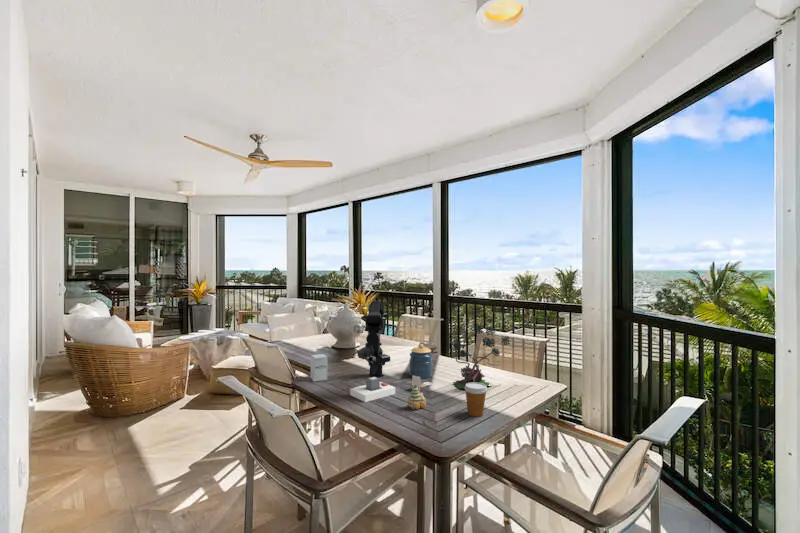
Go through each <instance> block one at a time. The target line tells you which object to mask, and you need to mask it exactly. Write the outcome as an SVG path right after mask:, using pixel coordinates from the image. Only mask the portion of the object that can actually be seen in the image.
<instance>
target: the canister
mask: <svg viewBox="0 0 800 533" xmlns="http://www.w3.org/2000/svg"><path fill="white" fill-rule="evenodd" d="M410 350H411V352H410V353H409V357H410V359H409V371H408V372H409V376H410V377H411V378H412V375H413V376H416V377H419V376H420V377H419V378H420V379H430V378H431V377H432V376H433V359H432V358H433V355H434V354H433V353H432V350H431V349H430V347H428V346H427V347H426V346H424V344H423V343H420V344H419V345H418V346H414V347H413V348H411V349H410Z"/></svg>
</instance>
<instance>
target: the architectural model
mask: <svg viewBox="0 0 800 533" xmlns="http://www.w3.org/2000/svg"><path fill="white" fill-rule="evenodd" d="M419 377H420V376H419ZM419 377H416V376H413V375H412V377H411V378H412V379H411V380H412V382H411V384H412V385H411V386H412V388H411V390H412V389H413V388H414V385H417V388H418V391H419V392H421V388H422V387H426V386H427V384H426V383H423V381H421V378H419Z"/></svg>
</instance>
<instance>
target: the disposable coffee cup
mask: <svg viewBox="0 0 800 533" xmlns="http://www.w3.org/2000/svg"><path fill="white" fill-rule="evenodd" d="M463 390H464V391H465V400H466V408H467V410H466V411H467V414H468V415H469V416H472V417H481V416H484V408H485V402H486V396H487V391H488V387H487V388H486V385H484V384H482V383H477V382H470V383H467V384H466V385H465V387H464V389H463Z"/></svg>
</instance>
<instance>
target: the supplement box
mask: <svg viewBox="0 0 800 533" xmlns="http://www.w3.org/2000/svg"><path fill="white" fill-rule="evenodd" d="M328 359H329V358H328V356H327V355H326V354H323V353H322V354H310V379H311V380H312V381H313V382H321V381H327V380H328Z"/></svg>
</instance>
